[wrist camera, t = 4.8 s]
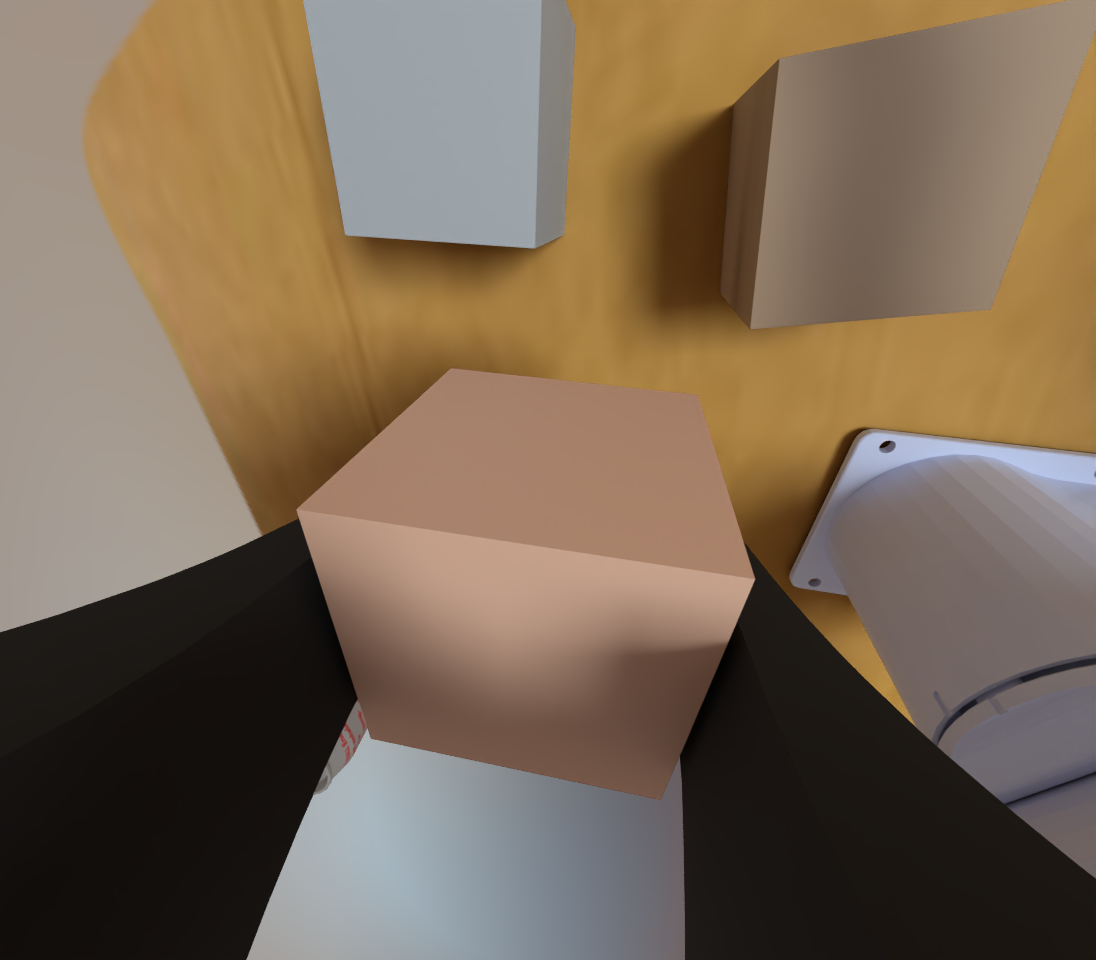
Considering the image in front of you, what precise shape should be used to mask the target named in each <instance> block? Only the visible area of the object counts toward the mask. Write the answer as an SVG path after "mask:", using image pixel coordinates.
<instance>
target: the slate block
mask: <svg viewBox="0 0 1096 960" xmlns="http://www.w3.org/2000/svg"><path fill="white" fill-rule="evenodd" d="M303 2H304V7H305V13H306V18H307V24H308V30H309V35H310V41H311V46H312V52H313V57H314V63H315V69H316V74H317V80H318V85H319V91H320V96H321V102H322V108H323V113H324V119H325V124H326V130H327V135H328V141H329V147H330V152H331V158H332V163H333V169H334V175H335V180H336V186H337V191H338V197H339V202H340V208H341V214H342V219H343V225H344V230H345V235H349V236H363V237H377V238H392V239H406V240H421V241H435V242H449V243H464V244H478V245H492V246H507V247H521V248H537V247H539V246H541V245H544V244H546V243H548V242H550V241H552V240H554V239H556V238H559V237H561V236H563V235H564V227H565V209H566V192H567V174H568V157H569V139H570V122H571V104H572V86H573V69H574V51H575V34H576V27H575V25H574V22H573V19H572V17H571V14H570V11H569V9H568V6H567V3H566V1H565V0H303Z"/></svg>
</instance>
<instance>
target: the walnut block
mask: <svg viewBox="0 0 1096 960" xmlns="http://www.w3.org/2000/svg"><path fill="white" fill-rule="evenodd" d="M1095 30H1096V0H1069V1H1064V2H1059V3H1054V4H1049V5H1044V6H1039V7H1034V8H1029V9H1024V10H1019V11H1014V12H1009V13H1004V14H999V15H994V16H989V17H984V18H979V19H974V20H969V21H964V22H959V23H954V24H949V25H944V26H939V27H934V28H929V29H924V30H919V31H914V32H909V33H904V34H899V35H894V36H889V37H884V38H879V39H874V40H869V41H864V42H859V43H854V44H849V45H844V46H840V47H835V48H830V49H825V50H820V51H815V52H810V53H805V54H800V55H795V56H790V57H785V58H780V59H779V60H778V61H777V62H776V63H775V64H774V65H773V66H772V67H771V68H770V69H769V70H768V71H767V72H766V73H765V74H764V75H762V76H761V77H760V78H759V79H758V80H757V81H756V82H755V83H754V84H753V85H752V86H751V87H750V88H749V89H748V90H747V91H746V92H745V93H744V94H743V95H742V96H741V97H740V98H739V99H738V100H737V101H736V102H735V103H734V105H733V119H732V133H731V147H730V161H729V175H728V189H727V203H726V217H725V231H724V245H723V259H722V273H721V287H720V294H721V295H722V296H723V297H724V299H725V300H726V301H727V302H728V303H729V305H730V306H731V307H732V308H733V309H734V311H735V312H736V313H737V314H738V315H739V317H740V318H741V319H742V320H743V321H744V323H745V324H746V325H747V326H748V327H749V329H760V328H772V327H784V326H796V325H809V324H821V323H833V322H845V321H857V320H870V319H882V318H894V317H906V316H919V315H931V314H943V313H955V312H968V311H980V310H991V307H992V304H993V302H994V299H995V296H996V294H997V291H998V288H999V286H1000V283H1001V280H1002V278H1003V275H1004V272H1005V270H1006V267H1007V264H1008V262H1009V259H1010V256H1011V254H1012V251H1013V248H1014V246H1015V243H1016V240H1017V238H1018V235H1019V232H1020V230H1021V227H1022V225H1023V222H1024V219H1025V217H1026V214H1027V211H1028V209H1029V206H1030V203H1031V201H1032V198H1033V195H1034V193H1035V190H1036V187H1037V185H1038V182H1039V179H1040V177H1041V174H1042V171H1043V169H1044V166H1045V163H1046V161H1047V158H1048V155H1049V153H1050V150H1051V147H1052V145H1053V142H1054V139H1055V137H1056V134H1057V131H1058V129H1059V126H1060V123H1061V121H1062V118H1063V115H1064V113H1065V110H1066V107H1067V105H1068V102H1069V99H1070V97H1071V94H1072V91H1073V89H1074V86H1075V84H1076V81H1077V78H1078V76H1079V73H1080V70H1081V68H1082V65H1083V62H1084V60H1085V57H1086V54H1087V52H1088V49H1089V46H1090V44H1091V41H1092V38H1093V36H1094V33H1095Z"/></svg>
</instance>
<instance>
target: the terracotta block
mask: <svg viewBox="0 0 1096 960" xmlns="http://www.w3.org/2000/svg"><path fill="white" fill-rule="evenodd" d="M296 510H297V513H298V516H299V520H300V523H301V526H302V529H303V532H304V535H305V538H306V541H307V544H308V547H309V550H310V553H311V556H312V559H313V562H314V566H315V569H316V572H317V575H318V578H319V581H320V584H321V587H322V590H323V593H324V596H325V599H326V602H327V605H328V608H329V612H330V615H331V618H332V621H333V624H334V627H335V630H336V633H337V636H338V639H339V642H340V645H341V648H342V651H343V654H344V657H345V661H346V664H347V667H348V670H349V673H350V676H351V679H352V682H353V685H354V688H355V691H356V694H357V697H358V700H359V703H360V707H361V710H362V713H363V716H364V719H365V722H366V725H367V728H368V731H369V734H370V737H371V739H375V740H380V741H385V742H389V743H394V744H399V745H404V746H408V747H413V748H418V749H423V750H427V751H432V752H437V753H441V754H446V755H451V756H455V757H460V758H465V759H470V760H474V761H479V762H484V763H488V764H493V765H498V766H502V767H507V768H512V769H517V770H521V771H526V772H531V773H536V774H540V775H545V776H550V777H555V778H559V779H564V780H568V781H573V782H578V783H582V784H587V785H592V786H597V787H601V788H606V789H611V790H615V791H620V792H625V793H630V794H634V795H639V796H644V797H648V798H653V799H658V800H661V799H662V796H663V794H664V792H665V789H666V787H667V785H668V782H669V780H670V778H671V775H672V773H673V771H674V768H675V766H676V764H677V761H678V759H679V757H680V754H681V752H682V750H683V747H684V745H685V743H686V740H687V738H688V735H689V733H690V731H691V728H692V726H693V724H694V721H695V719H696V717H697V714H698V712H699V710H700V707H701V705H702V703H703V700H704V698H705V696H706V693H707V691H708V689H709V686H710V684H711V682H712V679H713V677H714V675H715V672H716V670H717V668H718V665H719V663H720V660H721V658H722V656H723V653H724V651H725V649H726V646H727V644H728V642H729V639H730V637H731V635H732V632H733V630H734V628H735V625H736V623H737V621H738V618H739V616H740V614H741V611H742V609H743V607H744V604H745V602H746V600H747V597H748V595H749V592H750V590H751V588H752V585H753V583H754V581H755V577H754V574H753V571H752V568H751V564H750V561H749V558H748V555H747V551H746V548H745V545H744V542H743V539H742V535H741V532H740V529H739V526H738V523H737V519H736V516H735V513H734V510H733V506H732V503H731V500H730V497H729V494H728V490H727V487H726V484H725V481H724V478H723V474H722V471H721V468H720V465H719V461H718V458H717V455H716V452H715V449H714V445H713V442H712V439H711V436H710V433H709V429H708V426H707V423H706V420H705V416H704V413H703V410H702V407H701V404H700V400H699V397H698V395H694V394H685V393H676V392H667V391H657V390H648V389H639V388H629V387H620V386H611V385H602V384H592V383H583V382H574V381H564V380H555V379H546V378H536V377H527V376H518V375H509V374H499V373H490V372H481V371H471V370H462V369H453V368H451V369H450V370H449V371H448V372H446V373H445V374H444V375H443V376H442V377H441V378H440V379H439V380H438V381H437V382H436V383H434V384H433V385H432V386H431V387H430V388H429V389H428V390H427V391H426V392H425V393H423V394H422V395H421V396H420V397H419V398H418V399H417V400H416V401H415V402H414V403H412V404H411V405H410V406H409V407H408V408H407V409H406V410H405V411H404V412H403V413H401V414H400V415H399V416H398V417H397V418H396V419H395V420H394V421H393V422H392V423H391V424H389V425H388V426H387V427H386V428H385V429H384V430H383V431H382V432H381V433H380V434H378V435H377V436H376V437H375V438H374V439H373V440H372V441H371V442H370V443H369V444H367V445H366V446H365V447H364V448H363V449H362V450H361V451H360V452H359V453H358V454H357V455H355V456H354V457H353V458H352V459H351V460H350V461H349V462H348V463H347V464H346V465H344V466H343V467H342V468H341V469H340V470H339V471H338V472H337V473H336V474H335V475H333V476H332V477H331V478H330V479H329V480H328V481H327V482H326V483H325V484H324V485H323V486H321V487H320V488H319V489H318V490H317V491H316V492H315V493H314V494H313V495H312V496H310V497H309V498H308V499H307V500H306V501H305V502H304V503H303V504H302V505H301V506H299V507H298V508H297V509H296Z"/></svg>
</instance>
